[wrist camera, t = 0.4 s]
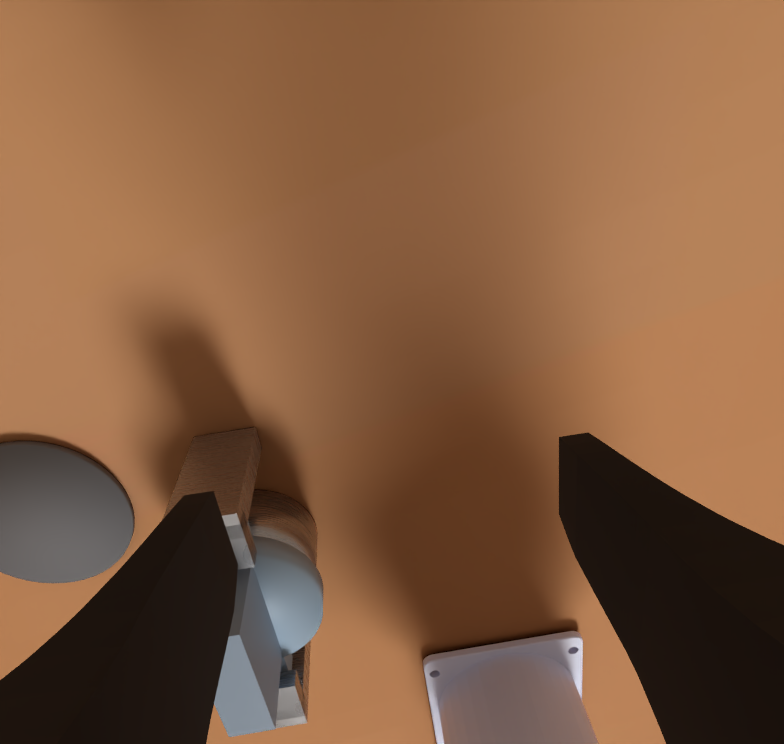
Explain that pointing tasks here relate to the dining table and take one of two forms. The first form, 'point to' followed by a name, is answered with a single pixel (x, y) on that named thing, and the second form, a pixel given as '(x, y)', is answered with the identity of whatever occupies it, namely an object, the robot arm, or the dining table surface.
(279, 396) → the dining table surface
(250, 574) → the cap
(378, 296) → the dining table surface
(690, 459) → the dining table surface
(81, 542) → the pad
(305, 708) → the metal ball with blocks
